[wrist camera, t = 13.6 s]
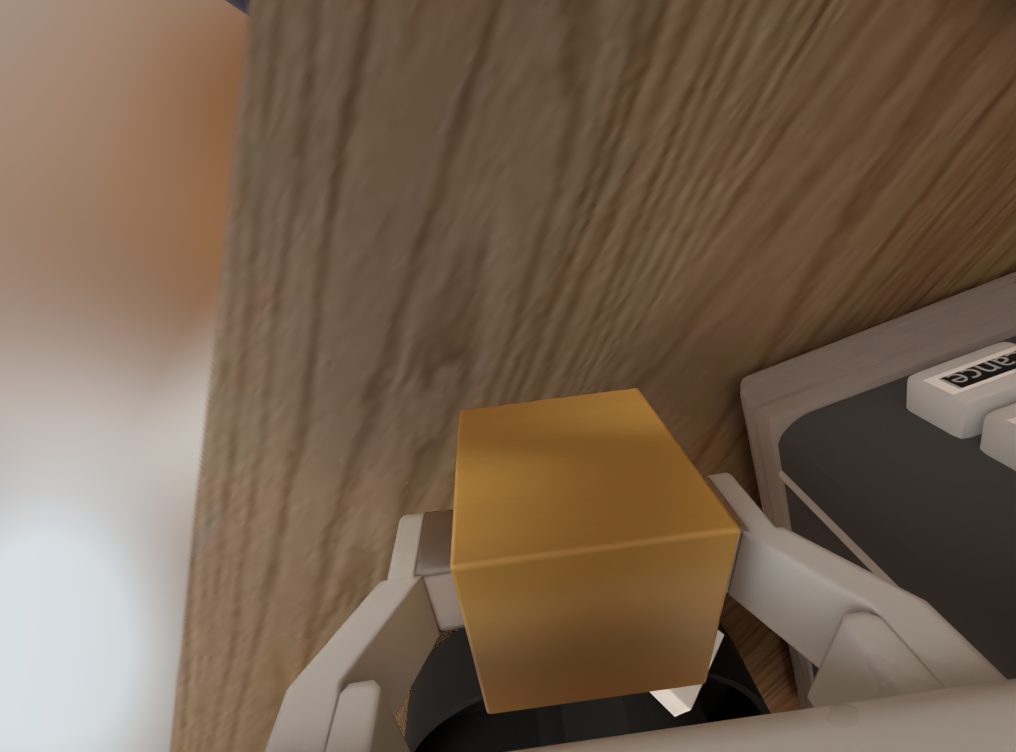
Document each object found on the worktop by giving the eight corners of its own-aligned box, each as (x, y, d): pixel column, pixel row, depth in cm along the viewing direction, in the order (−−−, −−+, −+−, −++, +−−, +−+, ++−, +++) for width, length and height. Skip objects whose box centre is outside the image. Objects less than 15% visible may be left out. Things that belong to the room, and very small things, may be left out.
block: (482, 535, 12) (486, 716, 8) (458, 409, 10) (448, 569, 6) (631, 516, 12) (706, 686, 8) (638, 386, 10) (743, 529, 6)
